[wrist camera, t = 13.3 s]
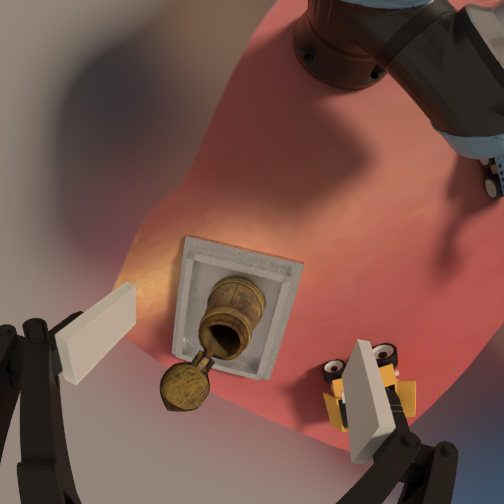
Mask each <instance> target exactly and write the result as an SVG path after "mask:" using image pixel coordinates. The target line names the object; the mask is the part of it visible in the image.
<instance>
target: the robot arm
mask: <svg viewBox="0 0 504 504" xmlns="http://www.w3.org/2000/svg"><path fill="white" fill-rule="evenodd" d="M294 49H295V53H296V56H297V58H298V60H299V61H300V63H301V64H302V66H303V67H304V68H305V69H306V70H307V71H308V72H309V73H310V74H311V75H312V76H314V77H315V78H316V79H318V80H319V81H321V82H323V83H325V84H327V85H330V86H333V87H336V88H340V89H347V90H357V89H363V88H367V87H370V86H372V85H374V84H376V83H377V82H379V81H380V80H381V79H382V78H383V77H384V76H385V75H386V74H387V73H389V74H390V76H391V77H392V78H393V79H394V80H395V81H396V82H397V83H398V84H399V85H400V86H401V87H402V88H403V89H404V90H405V91H406V93H407V94H408V95H409V96H410V97H411V98H412V99H413V100H414V102H415V103H416V104H417V105H418V106H419V107H420V109H421V110H422V111H423V112H424V113H425V115H426V116H427V117H428V118H429V120H430V121H431V125H432V126H433V128H434V129H435V130H436V131H437V132H438V133H439V134H441V135H442V136H443V137H444V139H445V140H446V141H447V143H448V144H449V145H450V146H451V148H452V149H453V150H454V151H456V152H457V153H459V154H460V155H462V156H464V157H467V158H471V159H487V158H493V157H497V156H500V155H503V154H504V0H500V1H498V2H497V3H496V4H494V5H493V6H490V7H486V6H482V5H478V4H474V3H467V4H466V5H465V6H464V7H463V8H462V9H460V10H459V11H458V10H457V9H455V8H454V7H453V6H452V5H451V4H450V3H449V2H448V1H447V0H308V9H307V10H306V11H305V12H304V13H303V14H302V16H301V17H300V18H299V20H298V21H297V23H296V26H295V29H294ZM136 287H137V285H134V284H131V283H128V282H125V283H124V284H122V285H121V286H120V287H118V288H117V289H115V290H114V291H113V292H111V293H110V294H108V295H107V296H106V297H104V298H103V299H102V300H100V301H99V302H97V303H96V304H95V305H93V306H92V307H91V308H89V309H88V310H87V311H85V312H81V311H79V312H76V313H74V314H71V315H70V316H69V317H67V318H66V319H65V320H63V321H62V322H61V323H59V324H58V325H56V326H55V327H54V328H52V329H51V330H50V331H48V328H47V323H46V322H45V321H44V320H43V319H40V318H32V319H29V320H27V321H25V322H24V323H23V325H22V327H23V331H24V335H25V337H23V336H20V335H17V332H16V328H15V327H14V326H12V325H7V324H6V325H1V326H0V462H1V458H2V453H3V449H4V445H5V441H6V437H7V433H8V429H9V426H10V422H11V419H12V415H13V412H14V409H15V406H16V403H17V400H18V397H19V393H20V391H21V394H20V395H21V396H20V445H21V462H20V463H18V464H17V477H18V486H19V493H20V499H21V504H81V501H80V499H79V497H78V494H77V492H76V488H75V484H74V480H73V475H72V471H71V467H70V461H69V456H68V451H67V445H66V439H65V432H64V425H63V417H62V407H61V397H60V383H59V376H58V374H59V373H61V372H62V371H63V375H64V378H65V380H67V381H69V382H70V383H72V384H74V385H77V384H78V383H79V382H80V381H81V380H82V379H83V378H84V377H85V376H86V375H87V374H88V373H89V372H90V370H91V369H92V368H93V367H94V366H95V365H96V364H97V363H98V362H99V361H100V360H101V359H102V358H103V357H104V356H105V355H106V354H107V353H108V352H109V351H110V350H111V349H112V348H113V347H114V346H115V345H116V344H117V343H118V342H119V341H120V339H122V338H123V337H124V336H125V334H126V333H127V332H128V331H129V330H130V329H131V328H132V327H133V326H134V325H135V324H136ZM342 382H343V389H344V397H345V405H346V413H347V421H348V430H349V440H350V450H351V461H352V463H357V464H367V463H368V462H369V460H371V458H372V457H373V461H374V464H373V466H371V467H370V469H369V470H368V471H367V472H366V473H365V474H364V475H363V477H361V479H360V480H359V481H358V482H357V483H356V484H355V485H354V486H353V487H352V488H351V489H350V490H349V491H348V492H347V493H346V494H345V495H344V496H343V497H342V498H341V499H340V500H339V501H338V502H337V503H336V504H382V503H383V502H384V500H385V499H386V498H387V496H388V495H389V494H390V493H391V491H392V490H393V488H394V487H395V486H396V484H397V483H398V482H403V483H405V484H404V487H403V490H402V492H401V495H400V498H399V500H398V503H397V504H451V500H452V495H453V489H454V483H455V477H456V470H457V462H458V450H457V448H456V447H455V446H454V445H453V444H452V443H450V442H446V441H443V442H440V443H438V444H437V445H436V447H431V446H427V445H424V444H421V440H420V439H419V437H418V436H417V435H416V434H414V433H412V432H410V430H409V427H408V423H407V420H406V417H405V414H404V412H403V408H402V406H401V401H400V398H399V397H398V396H397V394H396V393H395V392H394V391H392V390H385V387H384V384H383V381H382V378H381V374H380V371H379V368H378V365H377V362H376V359H375V356H374V353H373V350H372V347H371V344H370V341H365V340H359V339H357V342H356V344H355V347H354V349H353V351H352V354H351V356H350V358H349V361H348V363H347V365H346V367H345V370H344V372H343V374H342Z"/></svg>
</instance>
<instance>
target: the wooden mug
mask: <svg viewBox="0 0 504 504" xmlns="http://www.w3.org/2000/svg"><path fill="white" fill-rule="evenodd" d="M265 307H266V304H265V297H264V295H263V293H262V292H261V290H260V289H259V288H258V286H257V285H255V284H254V283H253V282H251V281H250V280H248V279H245V278H242V277H237V276H233V277H226V278H223V279H221V280H220V281H218V282H217V283H216V284H215V286H214V287H213V288H212V290H211V292H210V294H209V297H208V301H207V308H206V311H205V314H204V316H203V317H202V319H201V321H200V325H199V329H198V333H199V334H198V338H199V341H200V345H201V346H202V348H203V350H204V351H201V350H200V351H199V352H198V353H197V355H196V356H195V358H194V359H193V360H192V362H189V363H186V362H182V363H177V364H174V365H173V366H171V367H170V368H169V369H168V370H167V371H166V372H165V374H164V375H163V377H162V379H161V382H160V394H161V397H162V400H163V403H164V405H165V407H166V408H167V410H168V411H177V412H178V411H181V412H182V411H192V410H195V409H197V408H198V407H199V406H200V405H201V404H202V403H203V402H204V400H205V399H206V397H207V395H208V394H209V390H210V382H209V378H208V372H209V370H210V369H211V367H212V366H213V365H214V364H215V363H216V362H215V361H214V360H213V359H212V357H214V358H217V359H220V360H232V359H235V358H236V357H238V356H239V355H240V354H241V353H243V352H244V350H245V349H246V348H247V346H248V345H249V343H250V341H251V338H252V333H253V331H254V329H255V327H256V326H257V325H258V324H259V322H260V320H261V318H262V316H263V312H264V309H265Z"/></svg>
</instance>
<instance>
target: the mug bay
mask: <svg viewBox="0 0 504 504" xmlns="http://www.w3.org/2000/svg"><path fill="white" fill-rule="evenodd" d="M303 266H304V262H302V261H297V260H293V259H289V258H285V257H281V256H276V255H272V254H268V253H264V252H260V251H256V250H251V249H247V248H243V247H239V246H235V245H230V244H226V243H222V242H218V241H214V240H209V239H205V238H201V237H197V236H193V235H187V236H186V237H185V243H184V250H183V257H182V264H181V272H180V280H179V288H178V296H177V304H176V313H175V323H174V333H173V344H172V354H174V355H176V356H175V357H177V358H180V359H183V360H186V361H190V362H192V360H193V359H194V358H195V356H196V355H197V353H198V352H199V351H200V350H201V351H204V350H203V348H202V346H201V345H200V341H199V338H198V334H199V333H198V329H199V325H200V321H201V319H202V317H203V316H204V314H205V311H206V308H207V301H208V297H209V294H210V292H211V290H212V288H213V287H214V286H215V284H216V283H217V282H218V281H220V280H221V279H223V278H226V277H233V276H237V277H242V278H245V279H248V280H250V281H251V282H253V283H254V284H255V285H257V286H258V288H259V289H260V290H261V292H262V293H263V295H264V297H265V304H266V307H265V309H264V312H263V316H262V318H261V320H260V322H259V324H258V325H257V326H256V327H255V329H254V331H253V333H252V338H251V341H250V343H249V345H248V346H247V348H246V349H245V350H244V352H243V353H241V354H240V355H239V356H238V357H236V358H235V359H232V360H220V359H217V358H214V357H212V359H213V360H214V361H215V362H216V363H215V364H214V365H213V366H212V367H211V368H214V369H217V370H221V371H225V372H228V373H232V374H236V375H240V376H244V377H248V378H252V379H257V380H262V379H266V380H269V379H270V376H271V373H272V370H273V367H274V364H275V361H276V358H277V355H278V351H279V348H280V345H281V342H282V339H283V335H284V332H285V329H286V325H287V322H288V319H289V315H290V312H291V309H292V305H293V302H294V298H295V295H296V291H297V288H298V284H299V281H300V277H301V274H302V270H303Z"/></svg>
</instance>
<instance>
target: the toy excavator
mask: <svg viewBox="0 0 504 504" xmlns="http://www.w3.org/2000/svg"><path fill="white" fill-rule="evenodd" d="M479 161H480V163H481V164H482V166H484V167H486V168H488V167H490V166H491V170H492V175H490V176H487V177H486V178H485V181H484V183H485V185H486V187H485V186H484V187H485V190H486V193H487V194H488V196H489V197H490V198H491V199H493V200H494V199H495V200H497V199H499V198H501V197H503V196H504V154H503V155H500V156H497V157H493V158H487V159H479Z"/></svg>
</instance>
